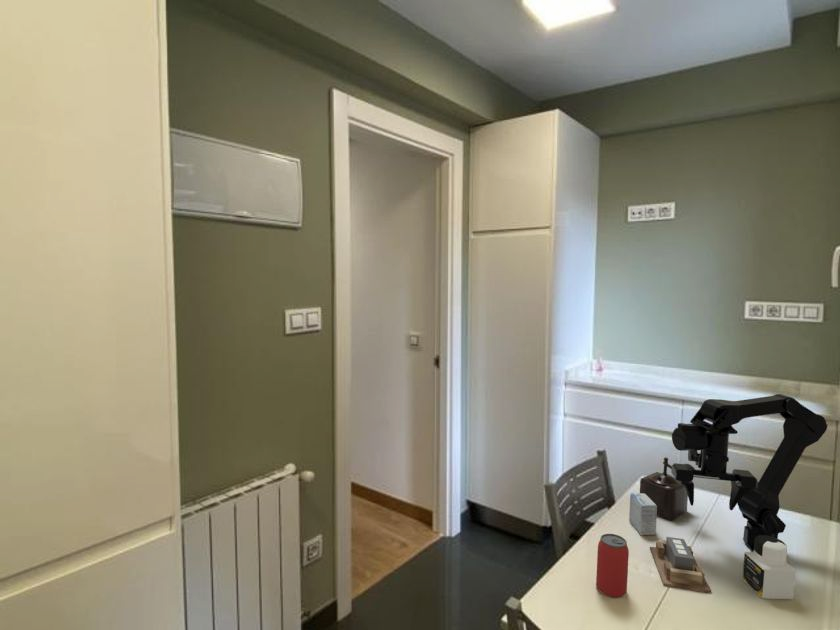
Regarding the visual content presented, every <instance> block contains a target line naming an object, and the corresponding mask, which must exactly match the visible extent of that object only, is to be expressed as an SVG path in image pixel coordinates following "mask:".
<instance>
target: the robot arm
mask: <svg viewBox="0 0 840 630" xmlns="http://www.w3.org/2000/svg"><path fill="white" fill-rule="evenodd" d="M775 414H778V415H779V416H780V417H782V419H784V423H783V426H782V428H783V429H782V430H783V438H782V440H781V442H780V444H779V446H778V447H777V450H776V451H775V453H774V454H773V456H772V458H771V460H770V461H769V463H768V465H767V467H766V469H765V471H764V472H763V474H762V475H761V476H760V479H759V481H758V478H757V477H755V476H754V474H753V473H751V471H749V470H747V469H746V470H745V469H736V468H734V469H733V470H732V473H730V472H727V469H728V468H727V467H728V463H729V462H730V461H729V460H730V457H729V456H728V453H729V440H730V439H729V437H730V435H732V434H733V435H735V434H736V435H737V434H738V430H736V428H734V427H733V425H737V424H739V423H741V421H742V420H744V419H747V418H748V419H749V418H755V417H760V416H768V415H775ZM707 421H708V422H707ZM689 422H690V423H684V422H683V423H682V422H681V423H677V427H676V428H674V430H673V431H672V433H671V441H672V444H673V446H674V448H675V449H676V450H677V451H683V452H684V451H687V452H688V453H687V460H688V462H693V463H694V462H695V466H697V467H698V469H695V470H694V469H691V468H690V466H689V465H687V464H688V463H678V462H677V463H676V462H674V463H673V464H672V465H671V466H672V469H670V470H671V474H672V476H673V477H674V478H675V479H676V480H678V481H680V482H681V484H684V486H685V488H686V491H687V494H688V501H689V504H690V506H694V501H695V483H694V482H693V480H694V478H698V479H709V480H718V481H719V480H720V481H727V482H730V485H731V486H730V487H731V488H730V489H731V490H730V495H729V502H728V504H729V505H728V506H729V507H728V508H729V510H730V511H733V510H734V509H735V507H736V506H738V510H739V511H740V512H741V516H742V518H744V519H746V525H745V526H744V529H743V537H742V540H743V541H744V543H745V544H746V545H747V547H748V548H749V549H750V552H754V544H755V537H757V536H759V535H767V536H772V537H775V538H777V539H779V538H778V537H779V534H781V533H784V531H785V529H786V526H787V525H786V523H785V522H784V521H783V520H782V519H781V518H780V517H779V516H778V514H779V511H780V508H781V507H780V506H781V505H780V497H779V495H780V494H781V491H782V489H784V486H785V484H786V483H787V481H788V480H789V477H790V476H791V474H792V473H793V470H794V469H795V467H796V465H797V464H798V462H799V460H800V458H801V456H802V455H803V453H804V452H805V449H806V448H807V447H809V446H811V445H813V444H815V443H817V442H819V440H820V439H821V438H822V437H823V435H824V434H825V433H826V431H827V430H828V424H827V420H826V418H825V417H824V416H823V415H820V414H818V413H816V412H814V411H813V410H811V409H809V408H807V407H806V406H804V405H803V404H802V403H800V402H799V401H797V399H795V398H794V397H791V396H789V395H785V394H781V393H777V394H776V393H775V394H774V395H769V396H759V397H756V398H755V397H754V398H748V399H747V398H746V399H741V400H728V399H727V400H726V399H718V398H717V399H716V398H715V399H713V398H712V399H711V398H709V399H705V400H704V401H703V403H702V404H701V406H700V408H699V409H698V410H697V412H696V413H695V414H694V415H693V417H692V418H691V420H690V421H689ZM709 422H710V423H709ZM698 451H700V452H698Z"/></svg>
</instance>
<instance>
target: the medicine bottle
mask: <svg viewBox="0 0 840 630" xmlns="http://www.w3.org/2000/svg"><path fill="white" fill-rule="evenodd" d="M787 553H788V546H787V544H786V543H785V542H784V541H782V540H781V539H780V538H778V539H777V538H775V537H772V536H767V535H759V536H757V537H755V544H754V551H744V555H743V557H744V558H743V570H742V580H743V581H744V582H745V583H746V584H747V585H748V586H749V587H750V588H751V589H752V590H753V591H754V592H755V593H756V594H757V596H759V597H760V599H763V600H765V599H766V600H768V599H769V600H770V599H771V600H794V596H795V595H794V594H795V583H796V574H797V573H796V572H797V570H796V569H795V568H794V567H793V566H792V565H790V564H789V563H788V562H787Z"/></svg>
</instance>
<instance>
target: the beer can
mask: <svg viewBox="0 0 840 630" xmlns="http://www.w3.org/2000/svg"><path fill="white" fill-rule="evenodd" d="M597 544H598V545H597V554H596V555H597V557H596V576H595V577H596V578H595V580H596V581H595V582H596V583H595V586H596V589H597V590H598V591H599V592H600V593H601V594H603V595H605V596H607V597H609V598H612V599H613V598H614V599H617V598H623V597H625V596H626V594H627V591H628V575H629V558H630V555H629V547H628V543H627V540H626V539H625V538H624V537H623V536H621V535H619V534H615V533H604V534H602V535H601V536H600V540H599V541H598V543H597Z"/></svg>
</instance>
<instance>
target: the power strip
mask: <svg viewBox="0 0 840 630" xmlns="http://www.w3.org/2000/svg"><path fill="white" fill-rule="evenodd" d="M665 541H666V553H665V556H666V558H667V561H668V562H671V565H672V567H673V568H675V569H682V570H688V571H693V566H694V558H695V557H694V558H693V556H694V555H693V556H692V554H691V552H690V550H689V548H688V546H689V545H688V544H687V543H686V540H685V539H684V538H681V537H679V538H678V537H671V536H666V538H665Z"/></svg>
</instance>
